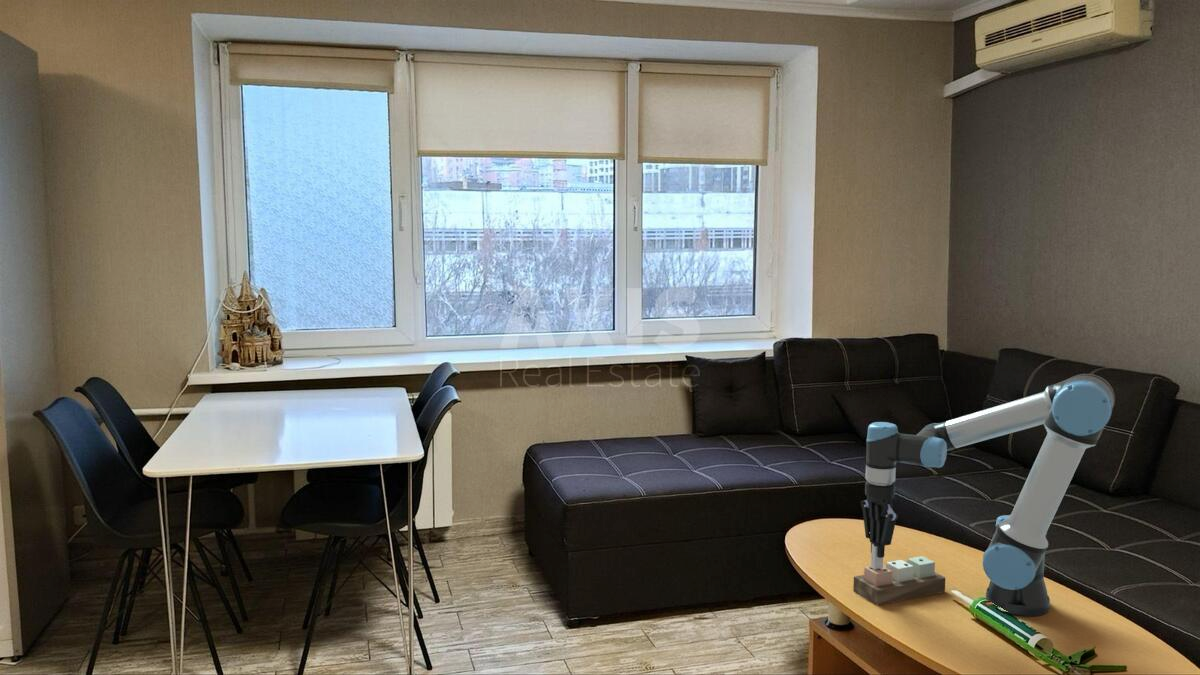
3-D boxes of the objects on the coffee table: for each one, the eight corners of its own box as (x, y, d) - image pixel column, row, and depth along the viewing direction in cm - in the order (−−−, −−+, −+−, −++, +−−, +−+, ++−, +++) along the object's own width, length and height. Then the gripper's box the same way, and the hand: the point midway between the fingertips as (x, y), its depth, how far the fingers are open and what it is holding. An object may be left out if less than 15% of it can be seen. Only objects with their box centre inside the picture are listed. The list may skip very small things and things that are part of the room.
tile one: (934, 580, 245) (934, 561, 244) (919, 582, 243) (919, 564, 243) (921, 573, 250) (922, 555, 249) (906, 576, 248) (907, 557, 247)
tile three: (891, 589, 240) (892, 570, 240) (875, 592, 239) (876, 573, 238) (879, 582, 245) (879, 563, 244) (864, 585, 243) (864, 566, 243)
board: (944, 591, 244) (945, 577, 243) (876, 605, 236) (877, 590, 236) (919, 578, 253) (920, 564, 252) (853, 590, 245) (853, 576, 245)
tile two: (913, 584, 243) (913, 565, 242) (897, 586, 241) (898, 568, 240) (900, 577, 247) (901, 558, 247) (885, 580, 246) (886, 561, 245)
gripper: (908, 486, 233) (904, 574, 237) (876, 473, 245) (873, 556, 249) (884, 490, 231) (880, 578, 234) (853, 476, 243) (850, 560, 246)
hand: (876, 567), depth 241 cm, fingers closed
